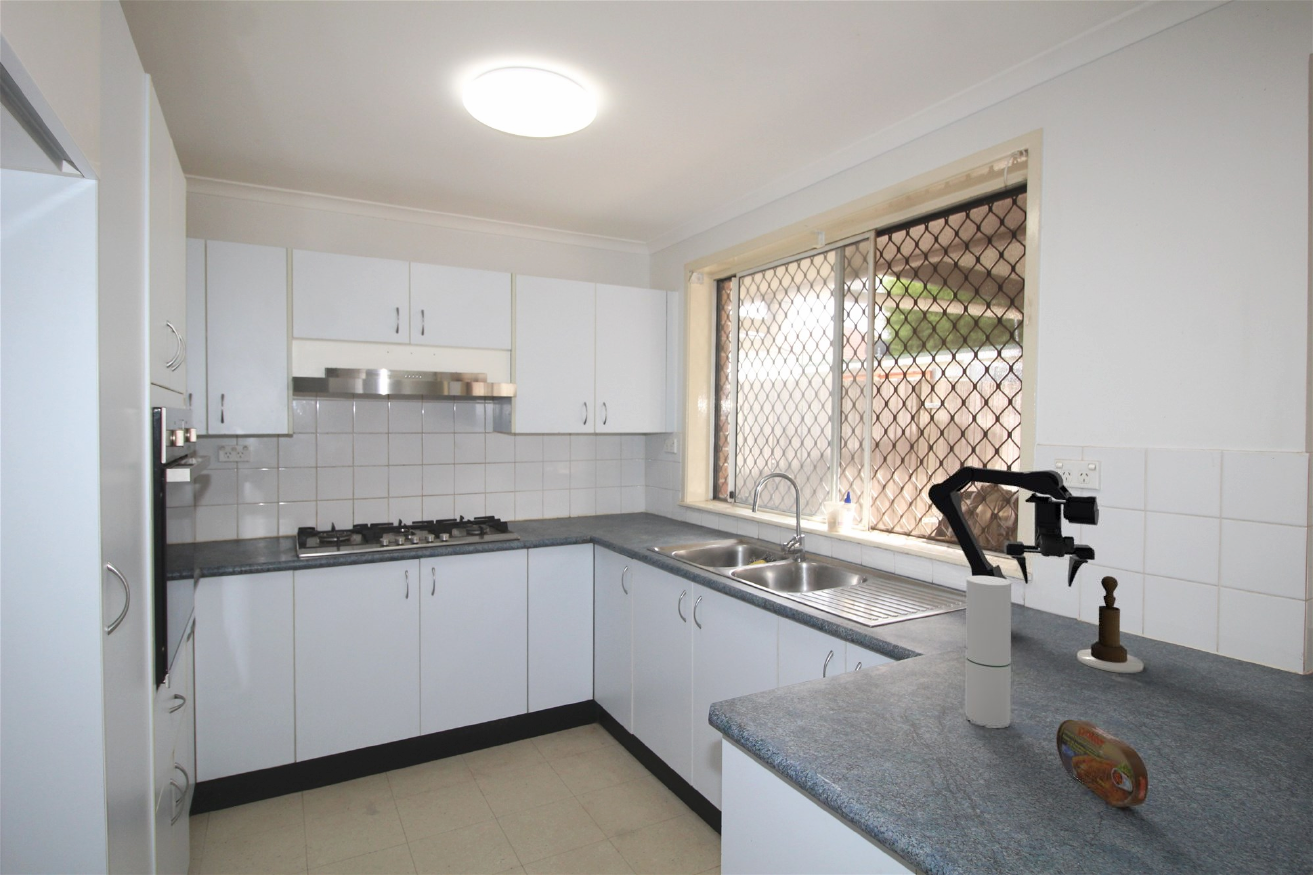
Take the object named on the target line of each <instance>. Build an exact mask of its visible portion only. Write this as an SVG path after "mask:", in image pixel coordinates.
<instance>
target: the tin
mask: <svg viewBox="0 0 1313 875" xmlns="http://www.w3.org/2000/svg"><path fill="white" fill-rule="evenodd" d="M1055 740H1056V748H1057V749H1056V750H1057V753H1058V756H1059V759H1060V761H1061V764H1062V766H1063V767H1064V769H1065V771H1066V772H1067V771H1068V772H1067V773H1068V774H1069V773H1071V774H1072V775H1074V776H1075V777H1076V778H1078V780H1080V781H1081V782H1083V784H1085V785H1086V786H1088V787H1089V788H1090V789H1091V790H1090V789H1089V788H1088V789H1089V790H1090V791H1092V790H1093V791H1094V792H1096V793H1095V794H1096V795H1097V794H1098V795H1099V796H1098V795H1097V796H1098V797H1100V796H1101V797H1102V798H1101V797H1100V798H1101V799H1103V800H1104V799H1105V800H1106V801H1105V800H1104V801H1105V802H1107V803H1108V804H1109V803H1110V805H1111V806H1113V807H1117V808H1125V807H1137V806H1138V807H1139V806H1140V805H1141V804H1143V803H1144V802H1145V801H1146V799H1147V796H1148V791H1149V774H1148V771H1147V768H1146V765H1145V763H1144V761H1143V759H1142V758H1141V756H1140V755H1139V753H1137V751H1136V750H1135V748H1133V747H1131V746H1130V745H1129V744H1128V743H1125V742H1124V741H1122V740H1120V739H1118V738H1117V737H1115V736H1113V735H1112V734H1111V733H1108V732H1107V731H1105V730H1104V729H1102V728H1100V727H1099V726H1096V724H1094V723H1091V722H1089V721H1086V720H1075V719H1066V720H1064V721H1062V722H1061V723H1060V724H1059V726H1058V728H1057V732H1056V739H1055ZM1078 780H1077V781H1078ZM1081 782H1080V783H1081ZM1083 784H1082V785H1083ZM1085 785H1084V786H1085ZM1086 786H1085V787H1086ZM1093 791H1092V792H1093ZM1094 792H1093V793H1094Z"/></svg>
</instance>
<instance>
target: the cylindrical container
mask: <svg viewBox="0 0 1313 875" xmlns="http://www.w3.org/2000/svg"><path fill="white" fill-rule="evenodd" d="M965 582H966V589H965V591H966V593H965V594H966V595H965V598H966V600H965V619H966V620H965V699H964V701H965V712H964V713H966V715H967V716H968V717H969V718H970V719H973V720H974V721H978V722H979V723H985V724H988V725H998V726H1001V725H1007V724H1009V723H1010V724H1011V674H1012V673H1011V670H1012V669H1011V664H1012V663H1011V662H1012V661H1011V658H1012V656H1011V655H1012V653H1011V652H1012V635H1011V634H1012V581H1010V580H1008V579H1003V578H999V577H992V576H972V575H969V576H967V577H966V581H965Z"/></svg>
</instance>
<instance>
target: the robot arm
mask: <svg viewBox="0 0 1313 875" xmlns="http://www.w3.org/2000/svg"><path fill="white" fill-rule="evenodd" d="M971 482H975V483H980V484H981V483H983V484H990V485H1001V486H1008V487H1016V488H1020V489H1023V490H1027V491H1029V492H1032V493H1031V494H1030V496H1028V498H1026V499H1024V502H1025V503H1030V504H1032V503H1033V504H1034V545H1033V544H1030V545H1029V544H1025V543H1023V541H1020V540H1019V541H1015V540H1006V541H1005V542H1004V543H1003V553H1004V554H1005V555H1006V556H1010V557H1011V559H1012V560H1013V559H1015V560H1016V562H1017V563H1018V567H1019V569H1020V572H1021V574H1022V578H1023V580H1024V583H1025V584H1026V585H1028V584H1029V583H1028V582H1029V576H1028V569H1027V558H1026V556H1025V555H1024V554H1025V553H1026V554H1027V553H1028V554H1029V553H1031V554H1041V556H1043V557H1057V558H1064V557H1065V555H1067V556H1068V557H1069V558H1068V559H1069V560H1068V572H1067V586H1068V588H1071V587H1072V585H1073V582H1074V580H1075V578H1076V575H1077V573H1078V571H1079V569H1080V567H1081V566H1082V565H1084V564H1088V563H1089V561H1095V560H1096V557H1095V556H1096V552H1095V549H1094V548H1092V546H1090V545H1088V544H1078V543H1077V544H1076V543H1075V538H1074V536H1070V535H1069V536H1067V535H1064V536H1063V534H1062V533H1063V532H1062V516H1063V519H1065V521H1068V523H1069V524H1072V525H1073V524H1074V525H1075V524H1076V525H1087V526H1098V523H1099V518H1100V509H1099V506H1098V499H1097V496H1096V495H1095V496H1094V495H1089V496H1088V495H1087V496H1083V495H1082V496H1080V495H1079V496H1078V495H1073V493H1071V491H1070V490H1069V489H1068V487H1066V485H1065V484H1064V479H1063V476H1062V474H1060V473H1059V472H1058V471H1056V470H1053V469H1052V470H1051V469H1049V470H1044V469H1043V470H1031V471H1030V470H1029V471H1015V470H1007V469H998V468H997V469H996V468H988V467H976V466H973V465H965V466H962V467H961V468H959V470H957V471H956V472H955V473H953V474H952V475H950V476H949V477H947V478H946V479H944V480H943V481H941V482H938V483H934V484H932V485H931V486H930V487H929V489H928V492H927V494H928V496H927V497H928V499H929V501H930V502H931V503H932V504H933V506H934V507H935V509H937V511H938V512H939V513H940V514H941V515H942V516H943V517H944V518H945V519H946V521H947V523H948V525H949V526H950V529H951V531H952V534H953V535H954V537H955V539H956V540H957V543H958V545H959V546H960V549H961V551H962V553H963V555H964V556H965V558H966V560H967V562H968V565H969V567H970V571H971V576H992V577H999V578H1003V579H1007V577H1006V576H1005V575H1004V574H1003V571H1002V569H1001V566H1000V565H999V564H997V565H995V566H994V565H993V564H992V563H991V562H990V561H989V560H988V559H987V556H986V555H985V553H984V551H983V549H982V547H981V545H980V543H979V541H978V539H977V537H976V535H975V533H974V532H973V530H972V527H971V525H970V524H969V521H968V520H967V518H966V516H965V514H964V512H963V509H962V508H963V506H962V501H961V496H960V494H959V492H962V490H964V489H965V488H966V487H967V486H968V485H969V484H970V483H971ZM1038 494H1039V495H1038ZM1042 495H1043V496H1042ZM1053 499H1055V500H1053ZM1062 505H1063V508H1062ZM1007 580H1008V579H1007Z"/></svg>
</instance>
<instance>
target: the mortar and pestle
mask: <svg viewBox="0 0 1313 875" xmlns="http://www.w3.org/2000/svg"><path fill="white" fill-rule="evenodd" d="M1100 583H1101V586H1102V588H1103V589H1104V590H1103V591H1104V592H1105V594H1104V595H1103V602H1104V604H1105V605H1099V606H1098V641H1095V642H1093V643H1092V644H1091V646H1090V649H1091V656H1093V657H1094V658H1097V659H1099V660H1103V661H1109V662H1115V663H1123V662H1126V661H1127V655H1128V649H1126V648H1125V647H1124V646H1123V645H1122V644H1121V643H1120V642H1121V640H1120V639H1121V634H1120V632H1121V631H1120V630H1121V628H1120V627H1121V621H1120V620H1121V608H1120V607H1116V606H1115V605H1116V604H1115V603H1116V601H1117V599H1116V596H1115V595H1114V593H1115V590H1117V588H1118V586H1119V583H1118V580H1117V579H1116V578H1115V577H1114V576H1111V575H1110V576H1109V575H1106V576H1104V577H1102V578H1101V581H1100Z"/></svg>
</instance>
